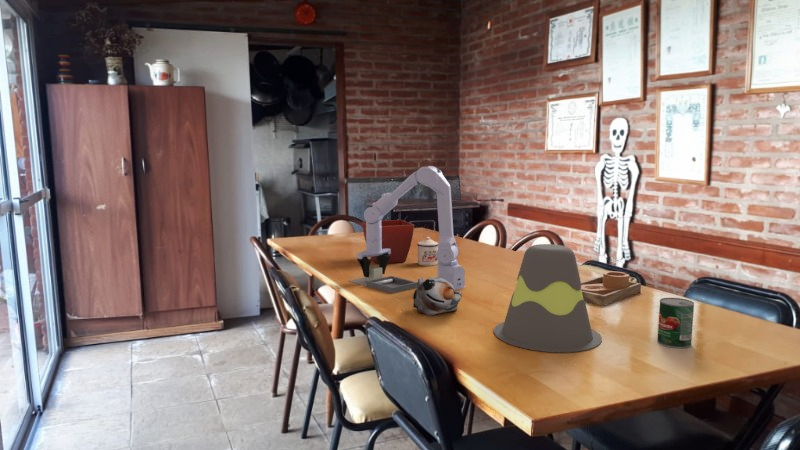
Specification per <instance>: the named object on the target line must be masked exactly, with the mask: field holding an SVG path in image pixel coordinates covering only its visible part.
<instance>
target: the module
mask: <svg viewBox="0 0 800 450" xmlns="http://www.w3.org/2000/svg"><path fill="white" fill-rule="evenodd" d="M379 278H383V274H382V268H381V267H379V265H373V266H370V267H369V277H367V281H369V280H374V279H379Z"/></svg>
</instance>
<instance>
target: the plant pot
mask: <svg viewBox="0 0 800 450" xmlns="http://www.w3.org/2000/svg"><path fill="white" fill-rule="evenodd" d="M361 226H362V230H363V232H362V233H363V236H364V240H365V242H366V221H362V222H361ZM381 226H382V249H386V248H388V249H391V254H388V255H391V258H390V259H389V261H388V263H387V264H392V263H394V264H395V263H403V262H406V261H407V258H408V256H409V253H410V249H411V245H412V240H413V236H414V235H413V234H414V230H415V224H413V223H411V222H409V221H406V220H403V219H393V220H391V219H390V220H387V219H386V220H381ZM370 260H371V261H374V262H375V263H376V264H379V261H378V257H377V256H372V257H370Z"/></svg>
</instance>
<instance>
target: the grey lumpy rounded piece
mask: <svg viewBox="0 0 800 450" xmlns="http://www.w3.org/2000/svg"><path fill="white" fill-rule="evenodd" d="M417 282H418V283H417V285H418V287H417V288H415V290H414V293H413V296H412V298H413V299H412V300H413V303H412V305H413V306H412V307H413V308H415V309H416V310H417V312H418V314H422V315H426V316H430V317H431V316H435V315H437V314H441V313H447V312H453V311H454V312H455V311H457V310H458V305H459V303H460V302H461V299H462V297H463V293H462V292H460V291H459V290H454V287H453V285H452V284H451V283H449V282H447V280H445V279H443V278H437V277H429V278H426V279H424V278H423V277H420V278H418V279H417Z"/></svg>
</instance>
